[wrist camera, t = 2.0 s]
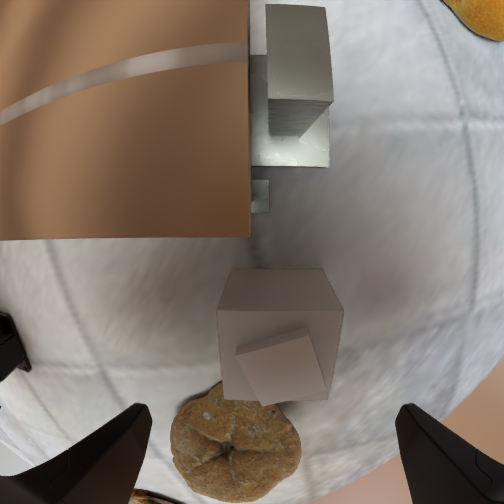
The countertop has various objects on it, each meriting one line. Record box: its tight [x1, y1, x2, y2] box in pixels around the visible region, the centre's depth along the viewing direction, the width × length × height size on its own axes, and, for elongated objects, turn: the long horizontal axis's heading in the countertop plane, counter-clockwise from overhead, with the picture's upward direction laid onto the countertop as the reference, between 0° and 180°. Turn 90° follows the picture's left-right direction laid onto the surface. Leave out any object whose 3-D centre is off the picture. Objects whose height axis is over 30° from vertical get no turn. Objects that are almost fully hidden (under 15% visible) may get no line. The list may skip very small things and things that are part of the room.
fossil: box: [170, 382, 301, 503], centre depth 17 cm, size 9×4×10 cm
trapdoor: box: [0, 0, 251, 241], centre depth 8 cm, size 16×16×6 cm
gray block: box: [216, 268, 344, 406], centre depth 13 cm, size 5×5×6 cm
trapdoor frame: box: [250, 4, 334, 213], centre depth 10 cm, size 23×8×8 cm, turn 91°
